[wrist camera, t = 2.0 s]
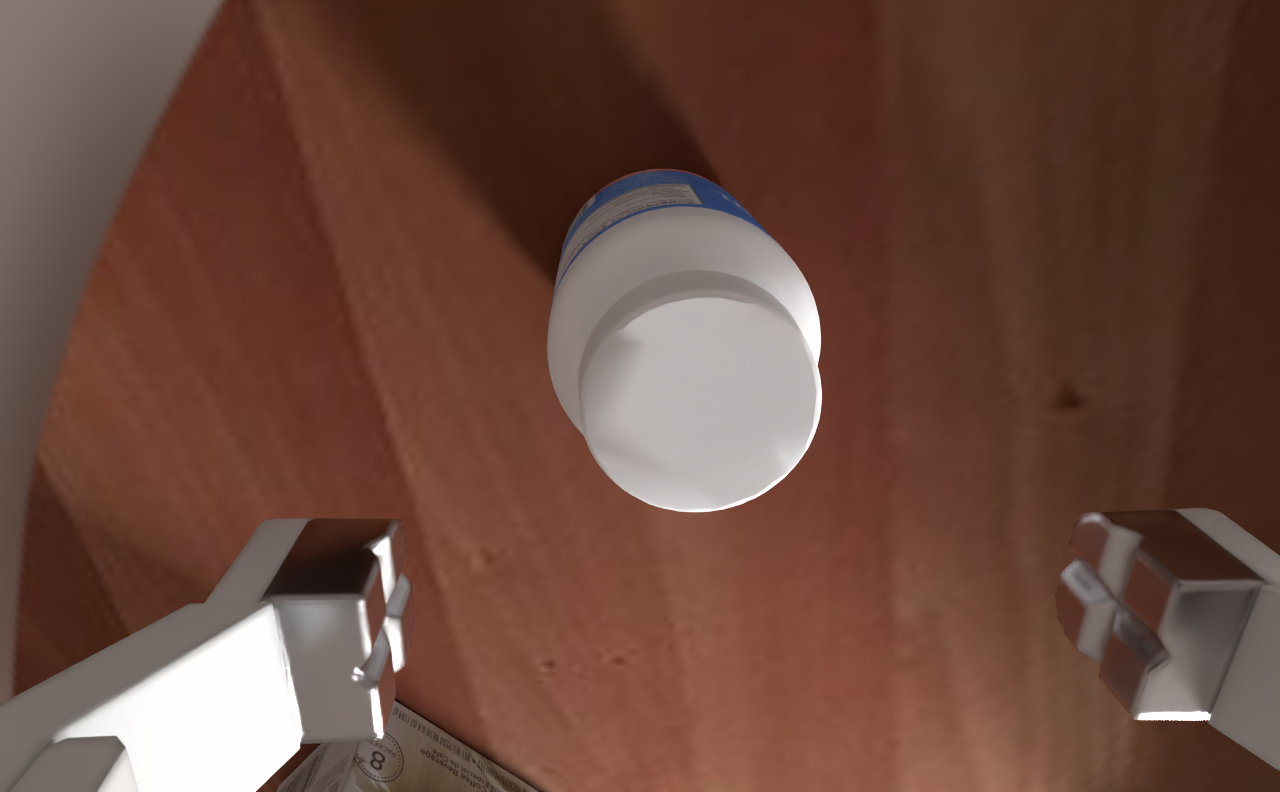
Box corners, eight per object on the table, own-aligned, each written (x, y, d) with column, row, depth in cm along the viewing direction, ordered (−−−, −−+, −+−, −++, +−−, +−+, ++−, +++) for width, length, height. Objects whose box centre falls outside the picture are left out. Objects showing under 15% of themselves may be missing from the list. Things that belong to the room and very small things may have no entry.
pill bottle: (782, 316, 23) (904, 493, 14) (607, 384, 23) (615, 597, 14) (718, 128, 21) (813, 194, 12) (526, 208, 21) (478, 330, 12)
